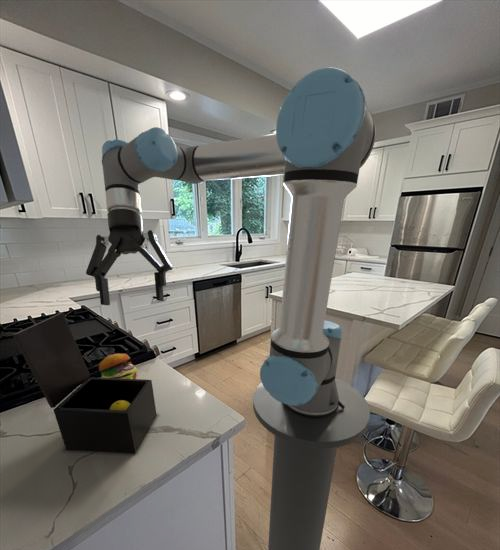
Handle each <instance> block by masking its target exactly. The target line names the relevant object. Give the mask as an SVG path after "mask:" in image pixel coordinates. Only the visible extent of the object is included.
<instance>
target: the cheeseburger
mask: <svg viewBox="0 0 500 550" xmlns="http://www.w3.org/2000/svg"><path fill="white" fill-rule="evenodd" d="M130 359H131V357H130V356H129V355H128V354H127V353H113V354H110V355H107V356H105V357H104V358H102V360H101V361H100V362H99V363H98V371H99V372H100V375H101V378H117V379H137V373H138V369H137V367H136V366H135V365H134V364H132V361H129V360H130Z"/></svg>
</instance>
